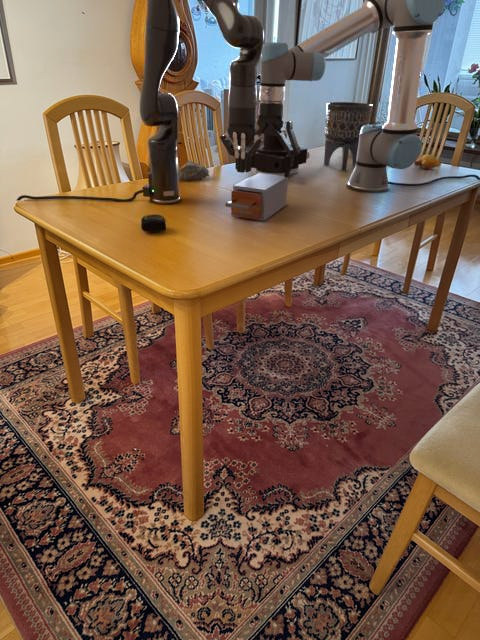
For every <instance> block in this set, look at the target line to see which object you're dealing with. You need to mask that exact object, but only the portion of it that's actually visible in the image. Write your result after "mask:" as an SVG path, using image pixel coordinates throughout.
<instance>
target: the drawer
mask: <svg viewBox="0 0 480 640" xmlns="http://www.w3.org/2000/svg"><path fill="white" fill-rule="evenodd" d="M230 195H231V196H230V201H225V204H224V205H225V208H226V207H228V208H230V215H231V216H233V215H235V216H234V217H237V216H241V217H240V218H243V217H247V218H246V219H249V218H253V219H252V220H255V219H260V216H261V199H262V193H259V192H252V191H245V190H238V191H237V190H233V189H232V190H231V191H230Z"/></svg>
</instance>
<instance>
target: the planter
mask: <svg viewBox="0 0 480 640" xmlns="http://www.w3.org/2000/svg"><path fill="white" fill-rule="evenodd" d="M373 107H374V106H373V104H372V103H367V102H353V101H333V102H327V103H326V109H325V124H324V125H325V126H324V139H325V144H324V156H323V157H324V158H323V165H325V166H328V165H330V163H331V158H332V156H333V154H334V153H335V151H336V150H337V149H340V148H341V152H342V153H341V166H340V170H341V172H345V171H347V167H348V166H347V165H348V159H349V154H348V152H349V150H350V151H351V153H352V154H351V157H352V158H351V159H352V160H351V161H352V166H353V167H355V165H356V158H357V151H358V144H359V135H360V131H361V128H362V126H364V125H370V121H371V116H372V112H373Z"/></svg>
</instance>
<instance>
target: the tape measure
mask: <svg viewBox="0 0 480 640" xmlns="http://www.w3.org/2000/svg"><path fill="white" fill-rule="evenodd" d="M166 223H167V222H166V218H165V217H164V215H161V214H154V213H153V214H146V215H144V216H143V217H141V220H140V228H141V230H142V231H144V232H150V233H156V232H164V231H167V224H166Z"/></svg>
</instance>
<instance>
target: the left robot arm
mask: <svg viewBox="0 0 480 640" xmlns="http://www.w3.org/2000/svg"><path fill="white" fill-rule="evenodd" d="M201 1H202V3H203V4H204V5H205V7H206V8H207V10H208V11H209V12H210V13H211V15H212V16H213V17H214V19H215V22H216V24H217V27H218V28H219V29H218V30H219V31H220V34H221V36H222V38H223V40H224V41H225V42H226V43H227V44H228V45H229V46H231V47H232V48H234V49H239V55H238V57H237V58H236V59H235V60H232V61H231V62H230V65H229V88H228V89H229V90H228V127H227V129H226V132H225V133H224V134H223V135H222V134H221V135H220V136H219V139H220V141H221V142H222V144H223V146H224V148H225V150H226V151H227V153H228V155H229V156H232V157H234V158H235V167H234V169H235V170H236V172H237V173H240V174H241V173H242V174H244V173H246V170H247V159H248V157H251V156H254V155H255V153H256V152H257V150H258V149H259V148H260V147H261V146H263V145H264V137H261V136H259V135H258V134H257V130H258V129H257V126H256V125H257V124H256V119H257V114H258V113H257V111H258V109H257V108H258V90H257V84H258V83H257V81H258V80H257V79H258V66H259V62H260V60H261V54H262V47H263V45H264V41H265V30H264V25H263V22H262V21H261V19H260V18H259V17H257V16H256V15H247V14H243V13H241V12H239V8H240V3H239V0H201ZM179 36H180V18H179V13H178V10H177V7H176V3H175V1H174V0H146V19H145V36H144V39H145V40H144V64H143V73H142V81H141V90H140V97H139V115H140V119H141V121H142V123H143V125H145V126H147V127H159V128H158V129H159V130H158V131H157V132H156V133H155V134H153V135H152V136H151V137H149V138H148V139H147V149H148V161H149V172H148V173H147V178H148V181H147V182H148V183H147V184H146V185H144V186H142V189H139V190H136V191H135V192H134V193H133V195H132V196H131V197H130V198H117V197H99V196H84V195H83V196H81V195H44V196H43V195H41V196H33V195H27V194H23V195H20V196H18V197H17V199H16V202H19V201H21V200H23V199H27V200H28V199H29V200H39V201H40V200H91V201H106V202H108V201H109V202H110V201H111V202H117V203H118V202H119V203H121V202H123V203H125V202H133V201H135V200H136V198H137V195H139V194H142V196H143V197H146V198H149V202H153V203H155V204H159V205H170V204H171V205H172V204H176V203H178V202H180V185H179V184H180V183H179V180H178V173H179V165H178V144H177V143H178V140H179V108H178V102H177V100H176V98H175V96H174V95H173V94H171V93H169V92H164V93H163V92H160V86H161V82H162V79H163V76H164V74H165V72H166V71H167V69H168V68H169V66H170V64H171V62H172V61H173V60H174V57H175V55H176V53H177V51H178V46H179ZM253 139H254V144H253V146H252V147H251V148H250V144H251V142H252V141H253ZM249 149H250V151H249Z"/></svg>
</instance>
